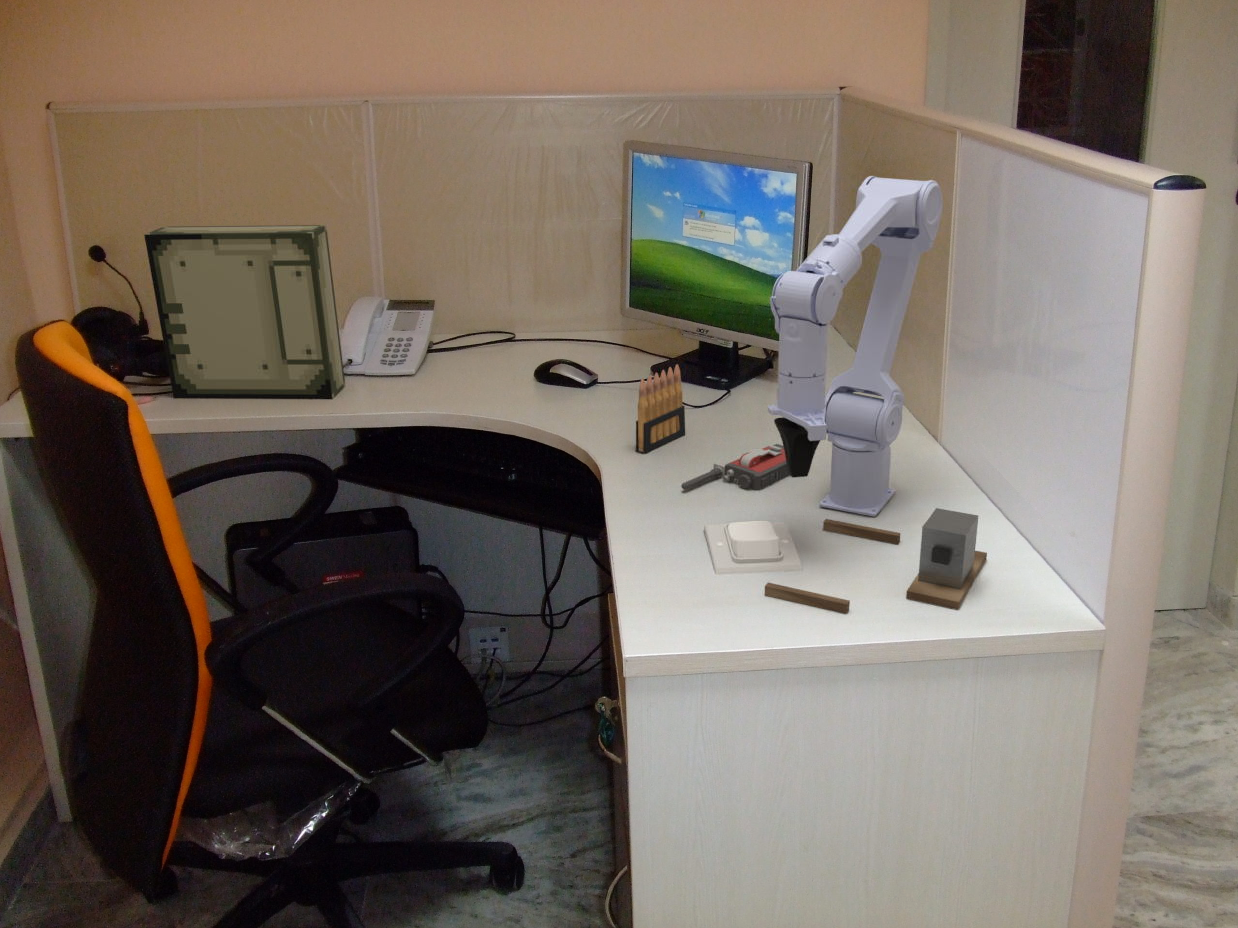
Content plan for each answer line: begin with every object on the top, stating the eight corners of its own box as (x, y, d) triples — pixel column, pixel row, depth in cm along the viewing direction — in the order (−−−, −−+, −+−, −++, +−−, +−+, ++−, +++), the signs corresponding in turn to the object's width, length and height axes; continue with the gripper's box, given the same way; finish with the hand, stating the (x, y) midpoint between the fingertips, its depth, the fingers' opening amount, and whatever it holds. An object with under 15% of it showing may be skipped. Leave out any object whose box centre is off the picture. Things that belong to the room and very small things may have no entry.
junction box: (932, 559, 141) (936, 507, 138) (973, 567, 139) (979, 514, 136) (916, 583, 135) (920, 529, 133) (959, 592, 133) (964, 537, 130)
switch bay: (825, 526, 153) (825, 518, 152) (899, 541, 148) (900, 532, 148) (764, 594, 136) (764, 585, 135) (846, 613, 131) (846, 604, 131)
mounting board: (937, 550, 145) (938, 543, 145) (986, 559, 143) (987, 552, 142) (906, 598, 134) (906, 590, 134) (958, 609, 131) (958, 601, 131)
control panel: (345, 386, 215) (326, 225, 204) (332, 399, 208) (311, 233, 197) (191, 385, 218) (163, 226, 207) (173, 398, 211) (144, 234, 200)
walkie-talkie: (764, 455, 178) (677, 493, 165) (765, 428, 177) (676, 465, 164) (810, 469, 173) (723, 510, 160) (811, 442, 171) (724, 481, 158)
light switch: (715, 554, 140) (704, 506, 151) (715, 584, 142) (703, 534, 153) (804, 551, 140) (786, 503, 152) (803, 580, 142) (785, 530, 153)
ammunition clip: (644, 454, 179) (643, 380, 174) (635, 452, 180) (633, 378, 176) (685, 434, 187) (685, 363, 182) (676, 432, 188) (675, 361, 183)
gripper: (754, 356, 146) (752, 456, 151) (786, 391, 132) (783, 500, 137) (808, 353, 146) (804, 452, 151) (845, 387, 133) (840, 495, 138)
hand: (798, 475), depth 144 cm, fingers closed
